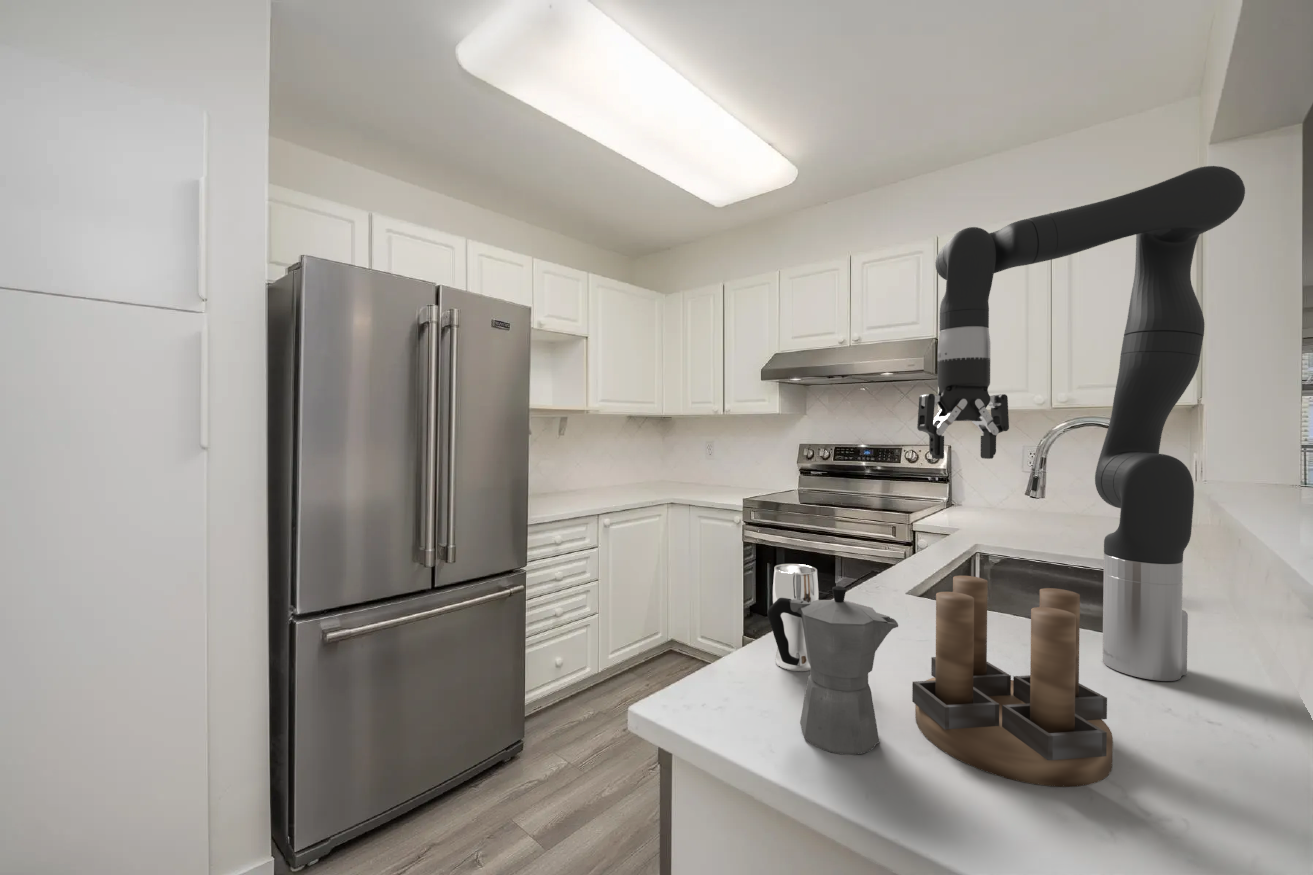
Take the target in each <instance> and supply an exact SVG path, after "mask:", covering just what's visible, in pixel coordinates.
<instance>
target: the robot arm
mask: <svg viewBox="0 0 1313 875" xmlns="http://www.w3.org/2000/svg"><path fill="white" fill-rule="evenodd" d="M1245 194H1246V188H1245V184H1244V181H1243V179H1242V177H1241V176H1240V175H1239V174H1237V172H1236V171H1233V170H1232V169H1229V168H1227V167H1224V166H1219V165H1217V166H1216V165H1208V166H1199V167H1197V168H1194V169H1190V170H1188V171H1186V172H1183V173H1182V174H1179V175H1177V176H1174V177H1172V178H1169V179H1166V180H1164V181H1161V182H1159V183H1156V184H1153V185H1150V186H1148V187H1144V188H1141V189H1139V190H1138V189H1137V190H1135V191H1132V192H1129V193H1125V194H1122V195H1119V196H1114V197H1112V198H1109V199H1104V200H1100V201H1097V202H1093V203H1089V204H1084V205H1080V206H1076V207H1073V208H1068V209H1064V210H1060V211H1059V210H1058V211H1055V212H1049V213H1046V214H1042V215H1038V216H1033V217H1029V218H1024V219H1020V220H1017V221H1015V222H1014V221H1013V222H1011V223H1009V224H1007V225H1005V226H1004V227H1002V228H1000V229H999V230H996V231H993V232H988V231H987V230H985V229H983V228H981V227H978V226H977V227H976V226H973V227H971V226H970V227H967V228H963V229H961V230H959V231H957V232H956V233H955V234H954V235H953V236H952V237H951V238H950V239H948V240H947V242H946V243H945V244H944V245H943V246H942V248H941V249H940V250H939V251H938V253H937V256H936V259H935V264H934V265H935V270H936V272H937V274H938V275H939V277H940V278H942V279H943V280H945V281H946V285H945V286H946V287H945V293H944V295H943V298H942V300H941V301H940V307H939V335H938V340H937V341H938V342H937V388H938V393H937V395H936V394H934V393H926V394H925V393H924V394H920V395H919V398H918V410H917V412H918V413H917V426H916V429H917V430H918V431H919V432H924V433H926V434H928V436H929V438H928V439H929V442H928V444H929V446H928V447H929V449H928V451H929V452H928V453H929V454H930V456H931V458H932V459H934V460H935V459H936V460H942V459H944V458H945V435H943V434H944V433H945V431H946V430H947V429H948V427H949V426H951V425H952V424H953V423H954V422H972V424H974V425H975V426H976V427H977V428H978V430H979V431H980V432H981V433H982V435H980V458H981V459H984V460H985V459H987V460H993V458H994V457H995V455H996V453H997V436H998V434H999V433H1003V432H1007V431H1009V429H1010V420H1009V418H1010V417H1009V416H1010V415H1009V401H1008V400H1009V399H1008V395H1007V394H1006V393H1005V394H1004V393H1003V394H1001V393H1000V394H993V395H990V393H989V390H988V389H989V386H990V385H991V337H990V329H989V328H990V307H989V304H990V303H989V299H990V293H991V291H992V286H993V285H992V284H993V280H994V274H996V273H999V272H1002V271H1005V270H1008V269H1012V268H1016V267H1022V266H1028V265H1034V264H1037V263H1043V262H1047V261H1051V260H1056V259H1061V258H1063V257H1067V256H1071V255H1074V254H1077V253H1081V252H1083V251H1085V250H1090V249H1092V248H1095V247H1098V246H1101V245H1104V244H1108V243H1111V242H1114V241H1117V240H1121V239H1124V238H1127V237H1131V236H1136V238H1135V267H1134V277H1133V283H1132V289H1131V293H1130V299H1129V300H1130V301H1129V307H1128V313H1127V318H1126V325H1125V329H1124V333H1123V338H1122V345H1121V351H1120V358H1119V368H1118V374H1117V381H1116V385H1115V390H1114V397H1113V403H1112V410H1111V416H1110V420H1109V424H1108V428H1107V430H1106V435H1105V438H1104V441H1103V445H1102V447H1101V451H1100V455H1099V458H1098V462H1097V465H1096V470H1095V473H1094V485H1095V488H1096V492H1097V493H1098V496H1100V498H1101V499H1102V500H1103V501H1104V502H1105V503H1107V504H1108V505H1110V506H1112V507H1115V508H1118V509H1120V513H1119V514H1120V515H1119V517H1120V518H1119V524H1118V528H1117V529H1116V530H1115V531H1114V532H1111V533H1108V534H1107V535H1106V536H1105V537H1104V539H1103V585H1102V586H1103V587H1102V588H1103V593H1102V594H1103V599H1102V601H1103V602H1102V605H1103V606H1102V609H1103V610H1102V615H1103V616H1102V662H1103V664H1104V665H1105V666H1107V667H1109V668H1110V669H1112V670H1114V671H1117V672H1120V673H1123V674H1126V675H1128V676H1132V677H1137V678H1141V679H1146V680H1151V681H1158V682H1159V681H1161V682H1172V681H1178V680H1180V679H1181V678H1182V676H1187V675H1188V634H1189V633H1188V632H1189V631H1188V627H1189V626H1188V625H1189V624H1188V623H1189V622H1188V621H1189V616H1188V612H1187V611H1186V610H1184V609H1183V578H1184V577H1183V566H1184V562H1183V561H1184V552H1185V550H1186V548H1187V546H1188V545H1189V543H1190V540H1191V537H1192V527H1193V525H1192V524H1193V514H1194V504H1195V503H1194V500H1195V499H1194V498H1195V486H1194V481H1193V477H1192V474H1191V472H1190V470H1189V469H1188V467H1187V466H1186V465H1185V463H1184V462H1183V461H1181V460H1180V459H1178V458H1176V457H1174V456H1171V455H1169V454H1163V453H1160V447H1161V441H1162V440H1161V439H1162V436H1163V430H1164V428H1165V424H1166V422H1167V420H1168V417H1169V416H1170V413H1171V412H1172V410H1173V409H1174V408H1175V406H1176V404H1177V403H1178V401H1179V400H1180V399H1181V397H1182V396H1183V394H1184V393H1185V392H1186V390H1187V389H1188V387H1189V385H1190V384H1191V382H1192V380H1193V379H1194V377H1195V374H1196V372H1197V370H1198V367H1199V363H1200V360H1201V353H1202V347H1203V343H1204V342H1203V341H1204V335H1205V318H1204V314H1203V310H1202V307H1201V305H1200V303H1199V300H1198V298H1197V295H1196V292H1195V290H1194V287H1193V285H1192V284H1193V283H1192V280H1191V279H1192V278H1191V277H1192V276H1191V275H1192V272H1191V271H1192V264H1193V258H1194V252H1195V250H1196V245H1197V243H1198V239H1199V237H1200V235H1202V234H1204V233H1206V232H1208V231H1210V230H1212V229H1214V228H1216V227H1218V226H1220V225H1222V224H1223V223H1225V222H1226V221H1227V220H1229V219H1230V218H1231V217H1233V216H1234V214H1236V213H1237V211H1238V210H1239V208H1240V207H1241V206H1242V204H1243V202H1244V200H1245ZM937 405H938V407H939V408H940V410H939V411H938V412H937V413H936V415H935V408H936V407H937ZM987 407H989V408H990V412H989V410H988V409H987Z"/></svg>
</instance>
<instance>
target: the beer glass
mask: <svg viewBox="0 0 1313 875" xmlns="http://www.w3.org/2000/svg"><path fill="white" fill-rule="evenodd" d="M772 582H773V584H772V605H773V604H774V603H775V602H776V601H777V600H778V599H779V598H788V599H791V600H793V599H796V600H803V601H806V602H808V603H809V602H812V601H816V600H819V581H818V569H817V568H816V567H814V566H811V565H808V564H807V565H806V564H800V563H781V564H777V565H775V566H774V571H773V581H772ZM781 618H782V620H783V624H784V631H785V635H786V637H787V639H788V642H789V653H790V655H791V656H793V657H795V658H799V659H800V660H799V663H798V665H790V664H787V663H784V662H783V661H782V659H781V656H780V653H779V650H778V646H777V648H776V652H775V653H776V654H775V659H774V660H775V661H774V662H775V664H776V665H777V666H778V667H779V666H780V667H779V668H782V669H784V670H786V669H787V670H788V671H792V672H807V671H810V669H811V666H810V664H809V662H808V658H807V651H806V644H805V637H804V630H803V622H802V618H800V617H797V616H793V615H790V614H788V613H782V614H781ZM787 670H786V671H787Z"/></svg>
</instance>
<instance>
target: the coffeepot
mask: <svg viewBox="0 0 1313 875" xmlns="http://www.w3.org/2000/svg"><path fill="white" fill-rule="evenodd" d="M831 588H832V589H831V590H832V594H833V596H832V597H833V599H818V600H816V601H812V602H809V603H808V602H806V601H803V600H796V599H793V600H791V599H788V598H779V599H778V600H777V601H776V602H775V603H774V604H773V603H772V605H770V606H769V607H768V609H767V619H768V621H769V624H770V627H771V629H772V630H771V631H772V633H773V637H774V639H775V643H776V646H777V647H778V650H779V653H780V656H781V659H782V661H783V662H784V663H787V664H790V665H798V663H799V660H800V659H799V658H795V657H793V656H791V655H790V653H789V642H788V639H787V637H786V635H785V631H784V624H783V620H782V618H781V614H782V613H788V614H790V615H793V616H797V617H800V618H802V622H803V630H804V637H805V644H806V651H807V658H808V662H809V664H810V666H811V669H810V670H809V671H810V672H809V673H810V674H809V675H808V676H807V682H806V687H805V693H804V698H803V705H802V709H801V716H800V721H799V724H800V727H801V733H802V735H803V737H804V739H805V740H806V741H808V742H809V743H810V744H811V745H813V746H815V747H817V748H819V749H821V750H823V751H826V752H829V753H833V754H837V755H847V756H848V755H849V756H852V755H853V756H855V755H861V754H865V753H868V752H870V751H872V750H873V749H875V747H876V745H877V744H879V743H880V738H879V737H880V736H879V732H878V726H877V719H876V714H875V708H874V700H873V695H872V690H871V687H870V684H869V673H871V672H872V671H873V666H874V661H875V656H876V652H877V651H878V648H879V647H880V646H881V644H882V643H883V641H884V640H885V638H887V636H888V635H889V634H890V633H891V631H892V630H893V629H896V628H898V627H899V624H898V622H897V620H896V619H894V618H892V617H891V616H888V615H885V614H882V613H879V612H876V610H875V609H874V608H873V607H871V606H867V605H864V604H861V603H860V604H859V603H855V602H851V601H849V600H845V596H846V592H847V588H846V587H844V586H840V585H837V586H832V587H831Z"/></svg>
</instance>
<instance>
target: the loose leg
mask: <svg viewBox="0 0 1313 875" xmlns="http://www.w3.org/2000/svg"><path fill="white" fill-rule="evenodd" d="M988 585H989V584H988V580H987V579H985V578H982V577H979V576H973V575H972V576H971V575H955V576H953V578H952V592H957V593H962V594H966V595H969V596H972V597H973V598H974V667H973V676H978V675H987V662H988V661H987V660H988V658H987V657H988V655H987V654H988Z"/></svg>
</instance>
